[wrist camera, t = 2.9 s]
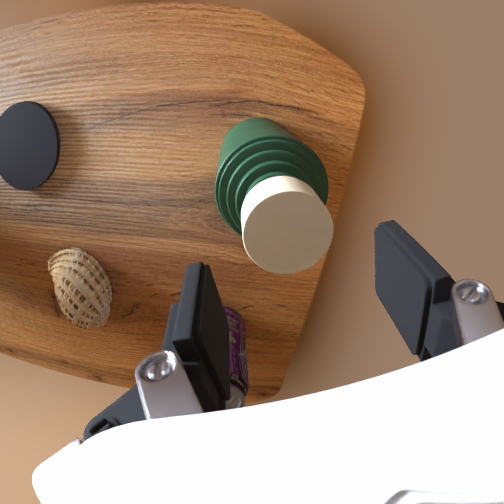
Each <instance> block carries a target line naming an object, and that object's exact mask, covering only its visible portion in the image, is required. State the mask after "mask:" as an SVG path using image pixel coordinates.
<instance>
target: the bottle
mask: <svg viewBox="0 0 504 504" xmlns="http://www.w3.org/2000/svg"><path fill="white" fill-rule="evenodd" d="M276 176H290V177H294V178H297V179H300V180H302V181H304V182H305V183H307V184H308V185H309V186H310V187H311V188H312V189H313V190H314V192H315V193H316V194H317V196H318V197H319V198H320V200H321V201H322V202H323V204H324V205H326V202H327V197H328V178H327V173H326V171H325V168H324V166H323V164H322V162H321V160H320V159H319V157H318V156H317V155H316V154H315V152H314V151H313V150H312V149H310V148H309V147H308V146H307V145H305V144H304V143H303V142H302V141H300V140H299V139H298V138H296V137H295V136H294V135H293V134H291V133H290V132H289V131H287V130H286V129H285V128H283V127H282V126H281V125H279V124H278V123H276V122H274V121H272V120H269V119H265V118H251V119H247V120H244V121H242V122H240V123H238V124H236V125H235V126H234V127H233V128H232V129H231V130H230V131H229V132H228V133H227V135H226V137H225V138H224V141H223V143H222V147H221V153H220V159H219V164H218V170H217V176H216V182H215V199H216V204H217V207H218V210H219V212H220V214H221V216H222V218H223V219H224V221H225V222H226V223H227V224H228V225H229V227H230V228H231V229H233V230H234V231H235V232H236V233H238V234H239V235H241V236H242V224H241V209H242V205H243V202H244V200H245V198H246V196H247V194H248V193H249V192H250V191H251V190H252V189H253V188H254V187H255V186H256V185H257V184H258V183H260V182H262V181H264V180H266V179H268V178H272V177H276Z"/></svg>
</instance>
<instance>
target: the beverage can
mask: <svg viewBox="0 0 504 504" xmlns="http://www.w3.org/2000/svg"><path fill="white" fill-rule="evenodd" d="M223 309H224V312H225V314H226V317H227V320H228V324H229V344H230V393H231V398H230V400H226V401H225V406H226V410H229V409H236V408H242V407H243V406H244V404H245V396H246V395H247V392H248V388H249V384H248V369H247V353H246V337H245V324H244V321H243V319H242V317H241V316H240V315H239V314H238V313H237V312H236V311H234V310H232V309H230V308H228V307H225V306H223ZM220 411H222V410H220Z"/></svg>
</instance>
